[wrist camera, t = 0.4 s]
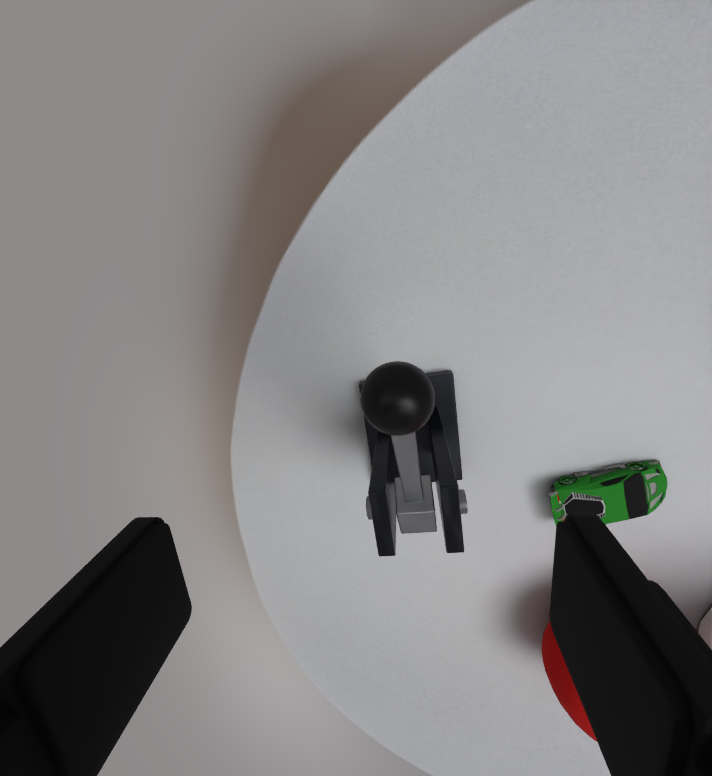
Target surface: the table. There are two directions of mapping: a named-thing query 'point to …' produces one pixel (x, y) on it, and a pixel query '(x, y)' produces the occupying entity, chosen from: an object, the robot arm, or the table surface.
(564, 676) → the tomato
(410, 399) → the lever
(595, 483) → the toy car
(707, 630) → the bottle
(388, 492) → the bracket
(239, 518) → the table surface
